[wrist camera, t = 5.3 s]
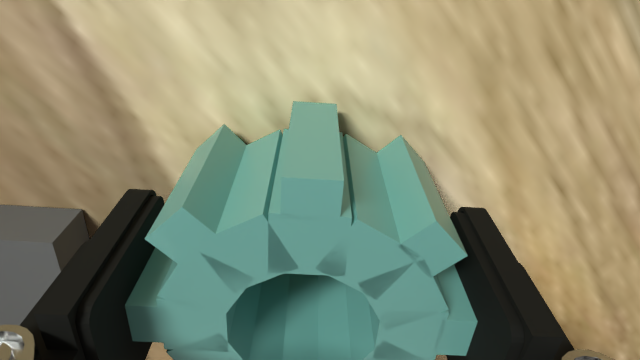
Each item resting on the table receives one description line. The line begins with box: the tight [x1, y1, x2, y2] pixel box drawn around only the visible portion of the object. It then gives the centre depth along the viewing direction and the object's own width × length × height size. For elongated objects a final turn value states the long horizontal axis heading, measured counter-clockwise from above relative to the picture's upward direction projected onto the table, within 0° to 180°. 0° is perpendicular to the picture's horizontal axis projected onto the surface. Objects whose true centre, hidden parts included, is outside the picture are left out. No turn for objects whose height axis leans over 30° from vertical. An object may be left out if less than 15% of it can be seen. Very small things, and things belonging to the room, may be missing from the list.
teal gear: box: [125, 101, 478, 360], centre depth 10 cm, size 7×7×4 cm
